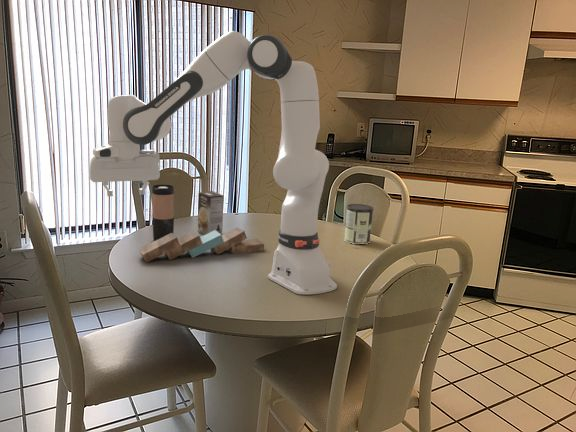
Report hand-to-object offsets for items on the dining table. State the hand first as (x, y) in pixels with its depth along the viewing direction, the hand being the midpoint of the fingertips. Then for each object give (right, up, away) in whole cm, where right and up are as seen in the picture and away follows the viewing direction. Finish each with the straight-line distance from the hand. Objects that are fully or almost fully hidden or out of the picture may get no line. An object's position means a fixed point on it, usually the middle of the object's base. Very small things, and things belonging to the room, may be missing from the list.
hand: (126, 195), depth 147 cm
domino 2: (+16, -18, +14) cm, 28 cm away
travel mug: (+4, -15, +30) cm, 34 cm away
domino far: (+3, -19, +7) cm, 21 cm away
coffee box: (+19, -13, +41) cm, 47 cm away
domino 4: (+29, -18, +21) cm, 40 cm away
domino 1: (+9, -19, +11) cm, 24 cm away
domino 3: (+24, -18, +18) cm, 35 cm away
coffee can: (+77, -17, +43) cm, 90 cm away
